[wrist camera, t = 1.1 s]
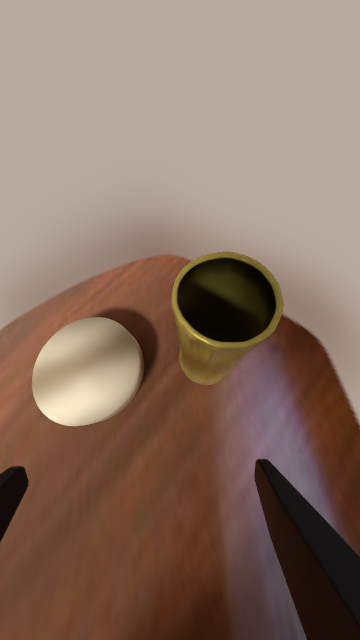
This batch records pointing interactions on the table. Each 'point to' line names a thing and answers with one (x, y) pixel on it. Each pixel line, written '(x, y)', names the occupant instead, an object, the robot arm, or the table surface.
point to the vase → (223, 313)
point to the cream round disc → (87, 372)
